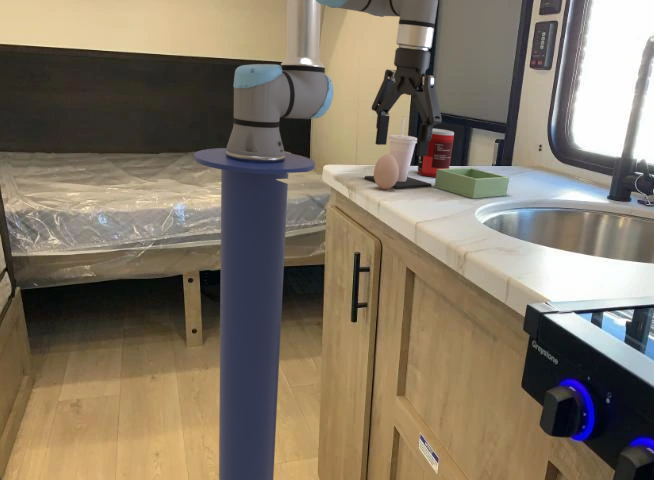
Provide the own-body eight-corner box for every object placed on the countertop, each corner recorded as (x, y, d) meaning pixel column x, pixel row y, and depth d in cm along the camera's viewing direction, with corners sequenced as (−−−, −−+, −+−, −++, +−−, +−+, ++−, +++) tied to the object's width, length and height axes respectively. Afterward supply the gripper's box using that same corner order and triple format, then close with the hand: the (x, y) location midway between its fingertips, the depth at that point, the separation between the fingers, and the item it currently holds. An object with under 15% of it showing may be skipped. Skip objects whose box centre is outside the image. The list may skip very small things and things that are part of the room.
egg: (384, 185, 132) (388, 152, 129) (401, 190, 129) (406, 156, 126) (367, 187, 129) (370, 152, 126) (384, 192, 125) (388, 157, 122)
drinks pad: (364, 178, 138) (364, 176, 138) (399, 176, 145) (399, 174, 144) (396, 188, 130) (396, 186, 130) (431, 186, 137) (431, 183, 137)
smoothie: (401, 176, 141) (408, 115, 136) (417, 182, 136) (425, 119, 131) (379, 177, 138) (385, 114, 133) (394, 183, 133) (402, 117, 128)
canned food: (423, 170, 157) (428, 127, 153) (452, 175, 154) (458, 131, 150) (412, 173, 151) (418, 128, 147) (442, 179, 148) (448, 133, 144)
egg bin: (434, 187, 137) (436, 169, 135) (467, 184, 144) (470, 167, 142) (472, 198, 129) (475, 179, 127) (506, 195, 136) (509, 177, 134)
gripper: (469, 54, 121) (451, 160, 129) (388, 46, 138) (377, 140, 146) (443, 51, 116) (427, 161, 124) (362, 42, 133) (353, 140, 141)
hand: (400, 150), depth 135 cm, fingers open, 13 cm apart
